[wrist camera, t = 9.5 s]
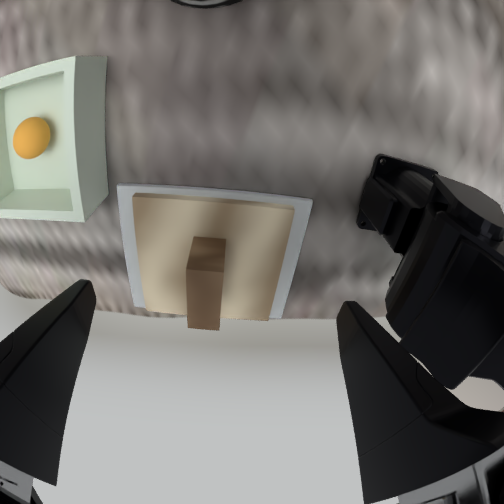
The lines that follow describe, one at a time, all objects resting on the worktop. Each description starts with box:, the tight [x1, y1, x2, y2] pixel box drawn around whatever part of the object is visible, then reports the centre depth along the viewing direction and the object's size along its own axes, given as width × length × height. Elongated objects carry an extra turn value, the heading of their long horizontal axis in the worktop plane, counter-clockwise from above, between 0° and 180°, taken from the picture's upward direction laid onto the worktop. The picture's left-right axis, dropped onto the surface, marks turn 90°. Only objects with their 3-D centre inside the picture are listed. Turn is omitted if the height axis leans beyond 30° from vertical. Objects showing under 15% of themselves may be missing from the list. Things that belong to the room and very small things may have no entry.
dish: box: [0, 56, 109, 222], centre depth 15 cm, size 11×11×4 cm
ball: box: [13, 117, 50, 159], centre depth 15 cm, size 3×3×3 cm
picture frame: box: [117, 183, 313, 319], centre depth 24 cm, size 15×13×1 cm
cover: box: [132, 193, 295, 330], centre depth 22 cm, size 12×12×5 cm
